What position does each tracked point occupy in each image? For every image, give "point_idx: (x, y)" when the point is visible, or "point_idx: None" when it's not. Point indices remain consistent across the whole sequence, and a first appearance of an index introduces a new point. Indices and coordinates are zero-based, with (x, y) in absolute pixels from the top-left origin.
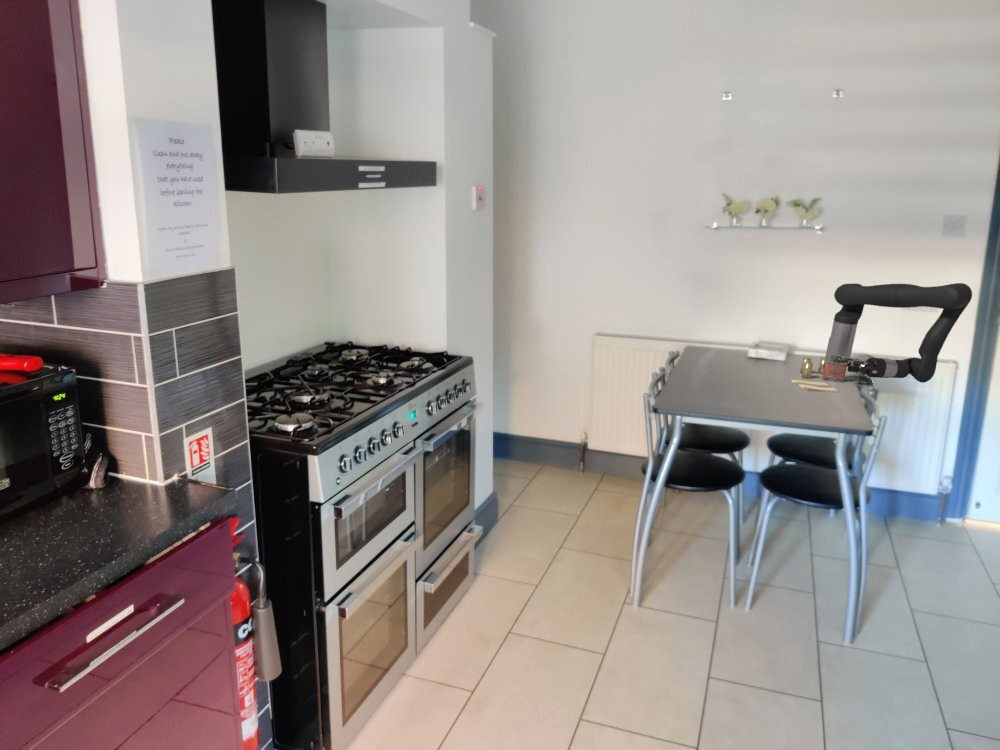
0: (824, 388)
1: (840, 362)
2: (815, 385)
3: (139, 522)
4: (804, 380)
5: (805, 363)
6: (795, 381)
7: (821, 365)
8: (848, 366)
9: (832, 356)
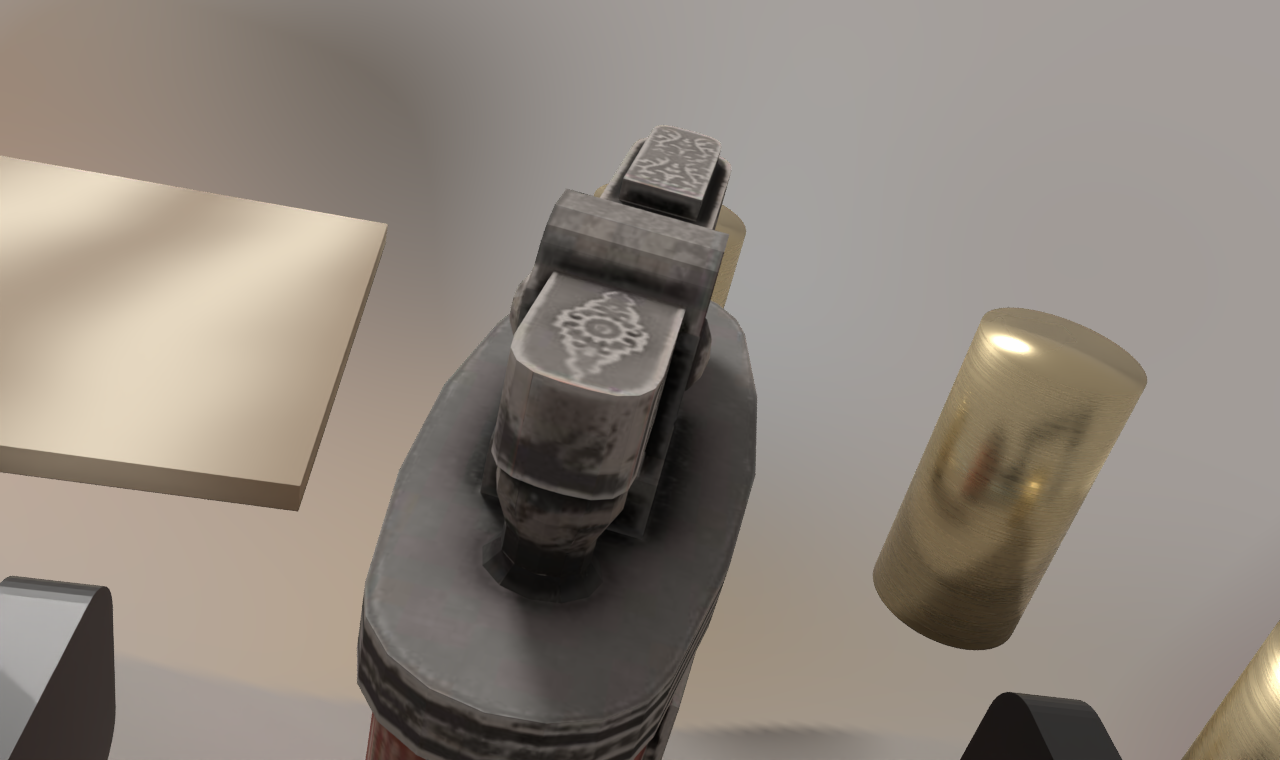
0: None
1: (490, 459)
2: (47, 278)
3: None
4: (340, 303)
5: None
6: (292, 211)
7: (1186, 752)
8: (99, 590)
9: (623, 177)
